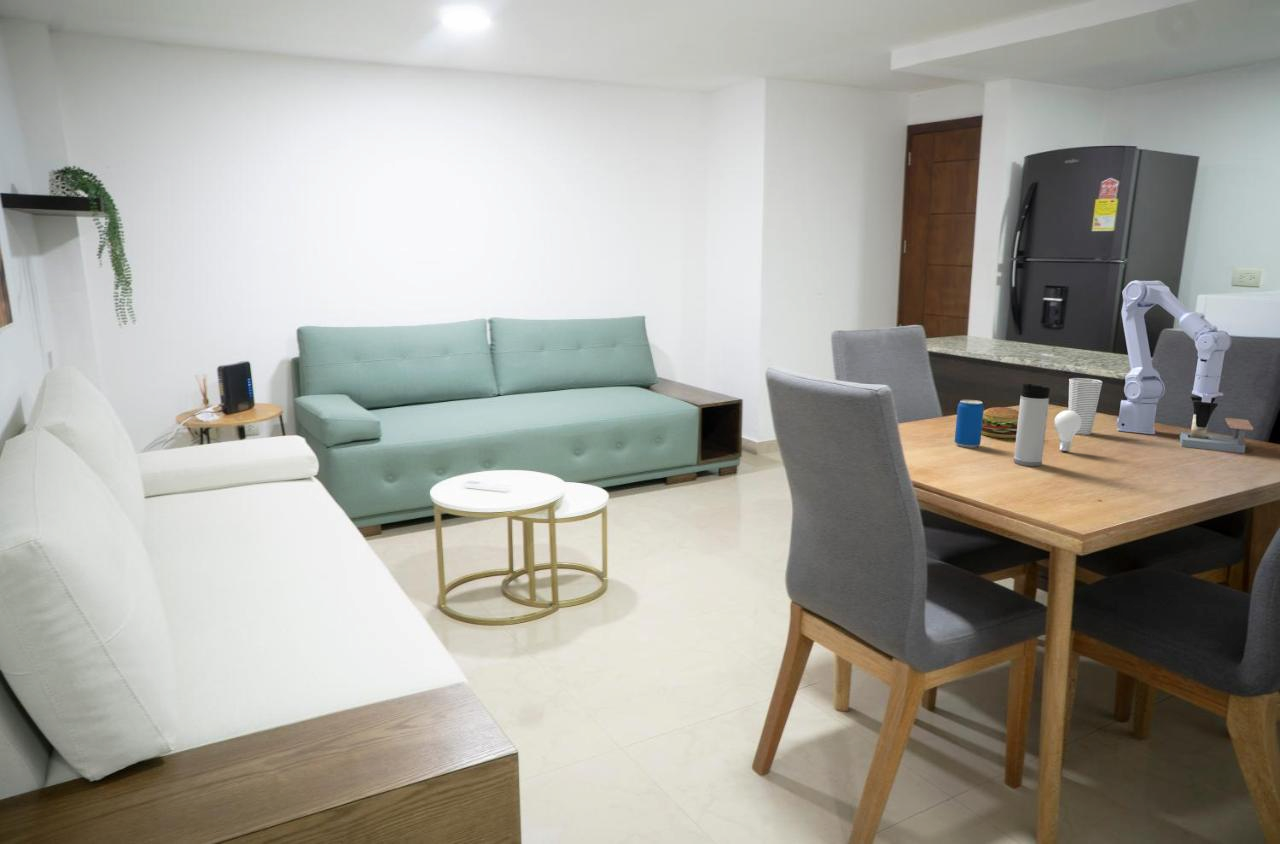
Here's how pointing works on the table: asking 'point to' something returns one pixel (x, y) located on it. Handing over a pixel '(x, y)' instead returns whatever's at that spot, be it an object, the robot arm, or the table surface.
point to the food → (1000, 423)
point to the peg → (1198, 430)
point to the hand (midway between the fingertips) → (1200, 424)
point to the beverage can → (969, 423)
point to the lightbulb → (1067, 428)
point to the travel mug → (1031, 425)
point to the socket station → (1220, 438)
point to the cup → (1084, 401)
